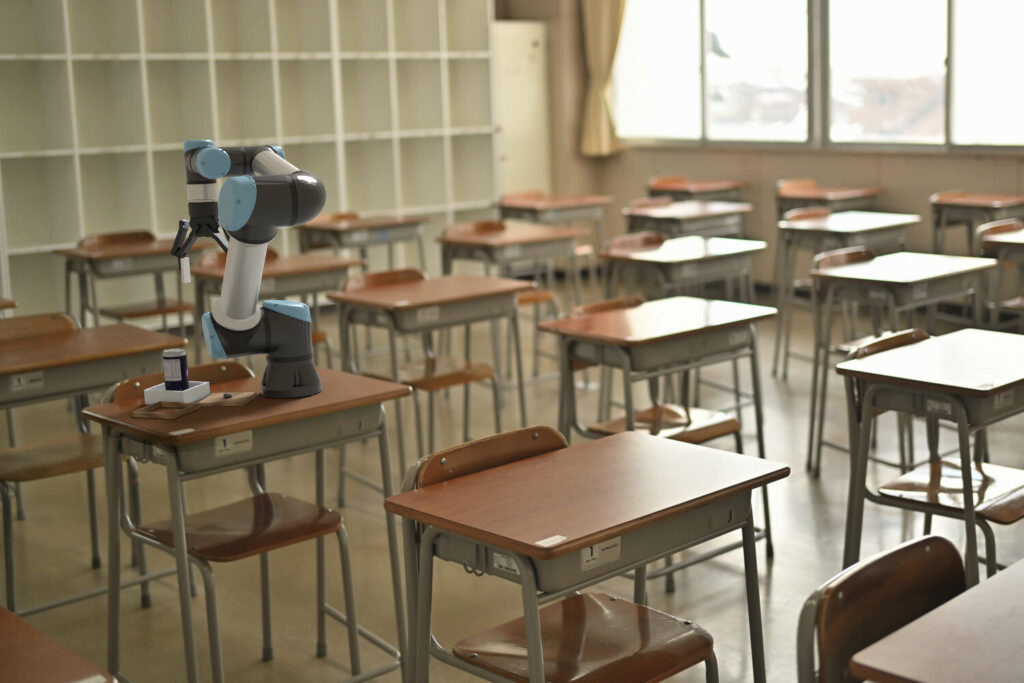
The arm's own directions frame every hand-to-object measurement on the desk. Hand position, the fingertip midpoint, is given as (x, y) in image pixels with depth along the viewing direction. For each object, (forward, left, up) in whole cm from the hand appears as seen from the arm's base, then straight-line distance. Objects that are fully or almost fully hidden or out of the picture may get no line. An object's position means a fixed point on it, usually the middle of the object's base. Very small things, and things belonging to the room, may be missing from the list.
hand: (209, 283), depth 307 cm
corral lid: (-14, +17, -27) cm, 35 cm away
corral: (-6, +31, -27) cm, 41 cm away
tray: (-1, +19, -27) cm, 33 cm away
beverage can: (-1, +19, -26) cm, 32 cm away
